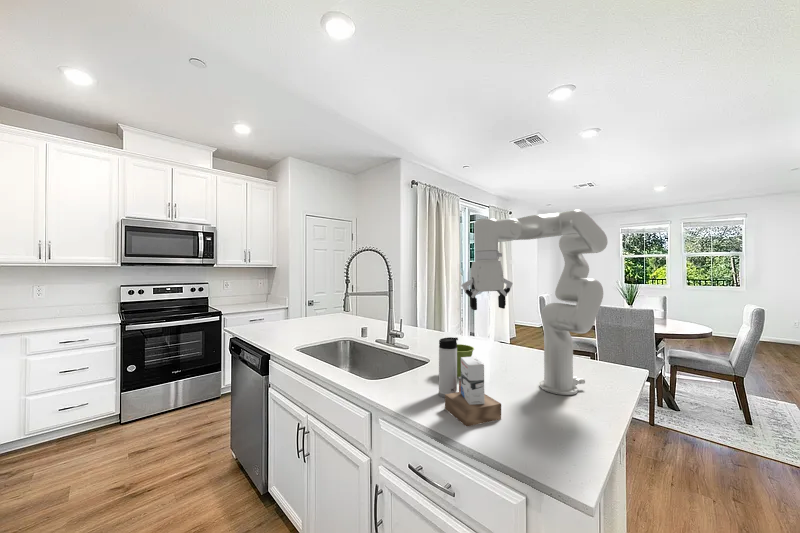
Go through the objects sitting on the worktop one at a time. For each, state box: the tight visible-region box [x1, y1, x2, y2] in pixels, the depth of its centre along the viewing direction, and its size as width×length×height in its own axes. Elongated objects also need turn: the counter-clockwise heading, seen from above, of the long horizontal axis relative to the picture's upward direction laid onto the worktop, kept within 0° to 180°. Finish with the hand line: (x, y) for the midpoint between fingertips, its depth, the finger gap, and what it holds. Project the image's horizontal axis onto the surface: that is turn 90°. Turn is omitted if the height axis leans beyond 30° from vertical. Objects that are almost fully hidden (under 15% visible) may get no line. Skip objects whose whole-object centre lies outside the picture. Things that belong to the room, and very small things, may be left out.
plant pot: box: [457, 343, 475, 378], centre depth 131 cm, size 12×12×11 cm
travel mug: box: [438, 337, 459, 399], centre depth 110 cm, size 6×7×20 cm
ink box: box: [461, 355, 485, 405], centre depth 96 cm, size 8×5×12 cm, turn 6°
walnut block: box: [444, 391, 502, 428], centre depth 96 cm, size 12×12×5 cm
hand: (488, 308), depth 104 cm, fingers open, 9 cm apart
